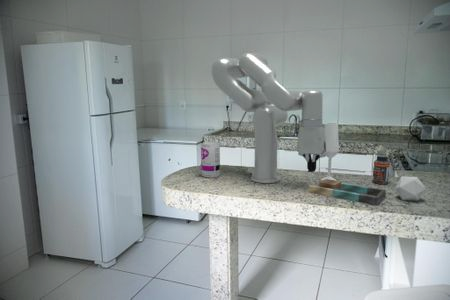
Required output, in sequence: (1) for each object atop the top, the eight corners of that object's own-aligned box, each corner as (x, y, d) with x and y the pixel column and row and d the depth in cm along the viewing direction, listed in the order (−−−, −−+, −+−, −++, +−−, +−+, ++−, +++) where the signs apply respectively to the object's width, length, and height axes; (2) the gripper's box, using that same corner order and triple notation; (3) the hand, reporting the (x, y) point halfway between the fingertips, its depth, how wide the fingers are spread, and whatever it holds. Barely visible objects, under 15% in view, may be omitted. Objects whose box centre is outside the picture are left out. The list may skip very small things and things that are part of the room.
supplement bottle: (370, 183, 134) (372, 156, 132) (373, 180, 139) (375, 153, 137) (386, 185, 130) (388, 157, 128) (389, 182, 135) (391, 155, 133)
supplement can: (206, 179, 141) (206, 144, 139) (198, 175, 148) (198, 142, 146) (223, 176, 145) (222, 143, 143) (214, 172, 152) (214, 140, 150)
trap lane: (308, 192, 122) (308, 185, 122) (320, 185, 131) (320, 179, 131) (377, 205, 108) (377, 198, 107) (385, 196, 117) (386, 190, 116)
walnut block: (318, 192, 123) (319, 182, 122) (325, 188, 127) (326, 178, 127) (334, 195, 119) (334, 185, 118) (340, 191, 123) (341, 181, 123)
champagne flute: (319, 181, 136) (322, 124, 132) (321, 177, 143) (323, 122, 138) (336, 183, 134) (340, 124, 130) (337, 179, 140) (340, 123, 136)
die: (419, 206, 108) (434, 182, 109) (395, 192, 110) (409, 168, 111) (409, 207, 116) (423, 184, 117) (387, 193, 118) (401, 171, 119)
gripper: (289, 124, 125) (289, 171, 128) (327, 125, 116) (327, 175, 119) (297, 122, 131) (298, 167, 134) (335, 123, 122) (334, 171, 125)
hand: (311, 171), depth 126 cm, fingers closed
